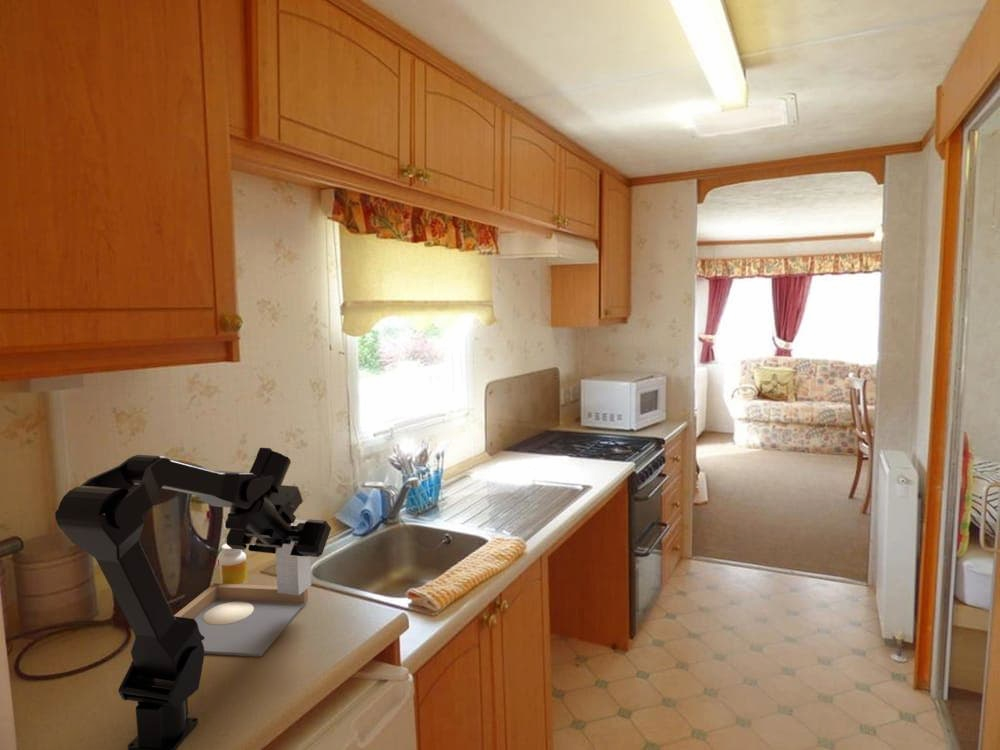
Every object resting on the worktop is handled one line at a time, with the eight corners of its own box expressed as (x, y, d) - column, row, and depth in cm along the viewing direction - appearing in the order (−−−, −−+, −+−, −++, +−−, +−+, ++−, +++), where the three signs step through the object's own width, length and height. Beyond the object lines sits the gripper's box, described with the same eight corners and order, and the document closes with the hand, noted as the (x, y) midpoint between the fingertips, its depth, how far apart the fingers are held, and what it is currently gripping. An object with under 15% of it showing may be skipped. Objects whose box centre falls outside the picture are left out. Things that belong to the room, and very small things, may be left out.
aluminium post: (298, 595, 115) (296, 528, 113) (277, 592, 116) (274, 526, 114) (311, 584, 119) (309, 520, 118) (290, 582, 120) (288, 518, 119)
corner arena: (260, 656, 105) (259, 640, 104) (151, 650, 107) (150, 634, 106) (307, 601, 125) (307, 587, 124) (215, 597, 126) (214, 583, 126)
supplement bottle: (252, 588, 130) (250, 544, 129) (227, 597, 126) (225, 552, 125) (240, 580, 134) (238, 538, 133) (216, 589, 130) (213, 545, 129)
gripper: (324, 479, 109) (354, 518, 121) (232, 473, 113) (270, 511, 125) (302, 537, 102) (336, 573, 114) (205, 528, 106) (248, 564, 118)
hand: (297, 553), depth 118 cm, fingers closed on aluminium post, 4 cm apart
